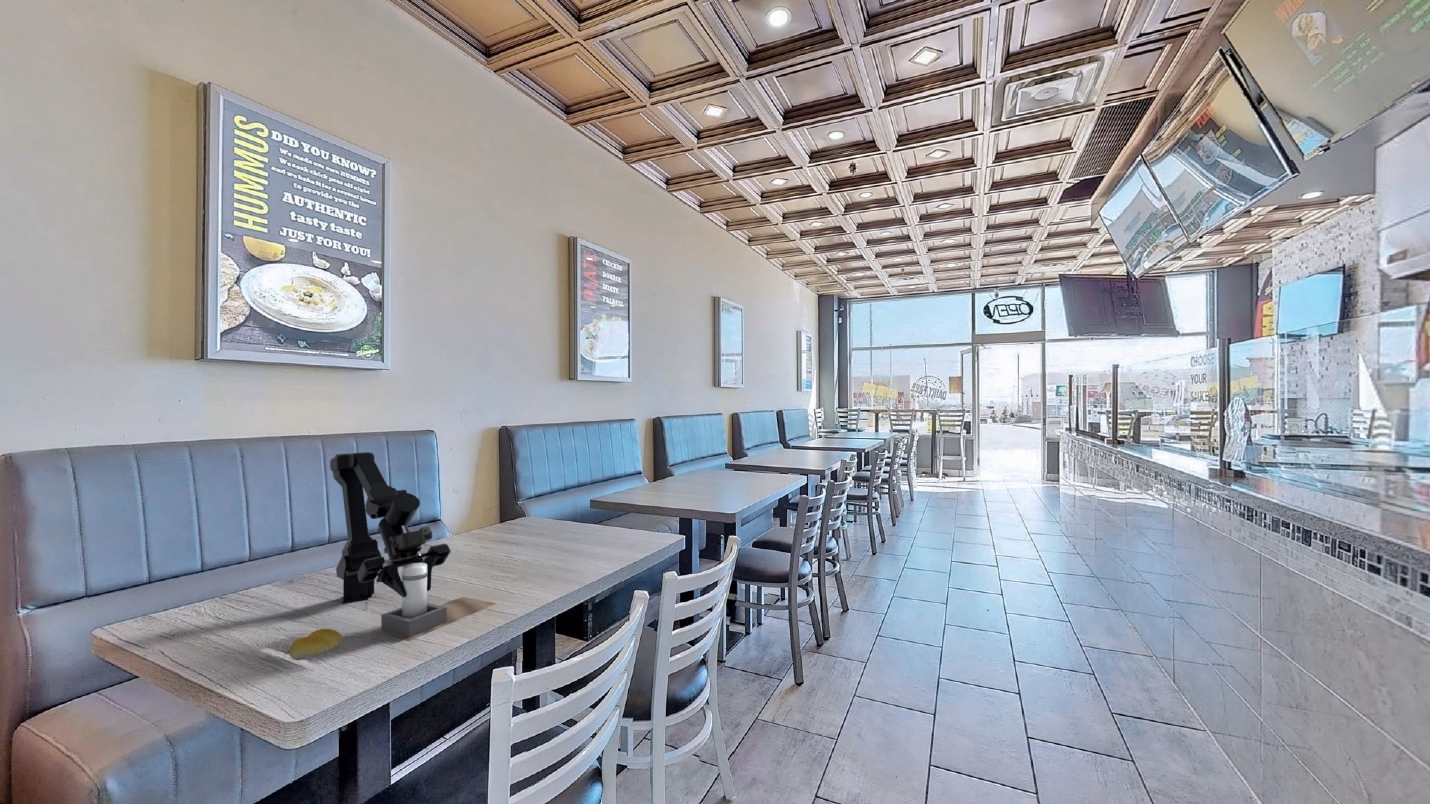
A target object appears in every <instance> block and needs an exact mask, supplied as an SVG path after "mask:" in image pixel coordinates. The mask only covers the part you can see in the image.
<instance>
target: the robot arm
mask: <svg viewBox="0 0 1430 804" xmlns="http://www.w3.org/2000/svg"><path fill="white" fill-rule="evenodd" d="M329 468H330V471H331V472H332V475H333V479H334V481H336V483H338V484H339V485H340V487H341V490H342V497H343V498H342V499H343V506H344V517H345V526H346V533H347V541H346V543H345V544H344V546H343V548H342V550H341V557H340V559H339V561H338V564H337V566H336V568H335V572H336V577H337V578H339V579H341V580H343V584H342V585H343V587H342V589H343V591H342V592H343V596H342V601H341V602H342V603H348V602H349V603H350V602H356V601H362V600H368V599H372V598H373V595H374V594H375V580H376V583H382V584H384V585H385V586H387V587H389V588H390V589H391V590H393V591H394V592H396V593H397V594H398V595H399V596H400V597H401V598H402V597H403V598H404V597H406V591H405V588H404V585H403V583H402V577H401V576H400V574H399V568H403V567H404V566H406V565H409V564H414V563H426V564H427V592H430V590H431V589H432V570H433V568H434V567H436V566H437V567H438V566H441V565H443V564H444V563H445V562H446V560H447V558H448V557H449V555H450V553H451V552H452V550H451V548H450V546H449V545H448V544H447V543H441V544H437V545H435V544H434V545H430V547H429V549H428V550H427V552H424V553H418V552H421V550H422V549H423V548H422V545H425V544H427V541H430V540H432V539H433V532H432V530H431V528H430V526H429V525H427V526H422V527H421V528H419V529H418V530H413V531H410V529H409V527H408V525H409V524H410V523H411V522H412V520H413V518H414V516H415V515H416V513H417V511H418V510H419V507H420V504H421V502H420V498H418V497H417V496H416V495H414V494H412V493H410V492H407V490H406V489H401V490H397V489H396V488H395V487H392V486H390V485H388V484H387V482H386V480H385V477H384V476H383V475H382V472H381V471H380V469H379V466H378V465H377V463H376V462H375V455H374V453H373V452H369V451H366V452H365V451H364V452H362V451H361V452H351V453H337V454H335V456H334V457H333V458H331V459H330V462H329ZM364 492H365V493H364ZM365 495H366V496H367V498H366V501H365ZM367 515H368V516H369V518H370V519H372V520H375V519H376V520H377V519H381V520H379V522H378V524H377V525H378V526H377V535H380V536H381V539H382V541H383V545H384V548H383V552H384V554H387V556H388V559H385V557H384V556H382V554H381V551H380V550H379V544H378V543H379V542H378V541H377V539H376V538H374V539H373V538H372V537H371V535H370V534H369V529H368V527H369V526H368V518H367Z"/></svg>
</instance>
